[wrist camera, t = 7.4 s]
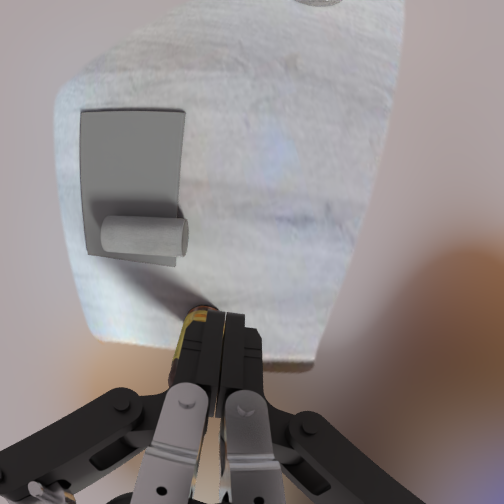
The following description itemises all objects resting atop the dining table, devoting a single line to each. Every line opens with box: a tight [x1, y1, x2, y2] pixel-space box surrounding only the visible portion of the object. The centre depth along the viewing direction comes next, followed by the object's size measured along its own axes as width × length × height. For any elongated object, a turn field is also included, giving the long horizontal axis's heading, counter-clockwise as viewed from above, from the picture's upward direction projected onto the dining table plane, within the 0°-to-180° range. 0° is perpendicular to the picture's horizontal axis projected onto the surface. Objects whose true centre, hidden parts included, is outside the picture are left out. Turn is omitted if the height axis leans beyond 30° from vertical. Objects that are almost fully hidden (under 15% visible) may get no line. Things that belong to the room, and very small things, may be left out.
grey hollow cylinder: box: [100, 215, 189, 257], centre depth 34 cm, size 4×4×10 cm
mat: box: [80, 111, 186, 267], centre depth 33 cm, size 20×14×1 cm
